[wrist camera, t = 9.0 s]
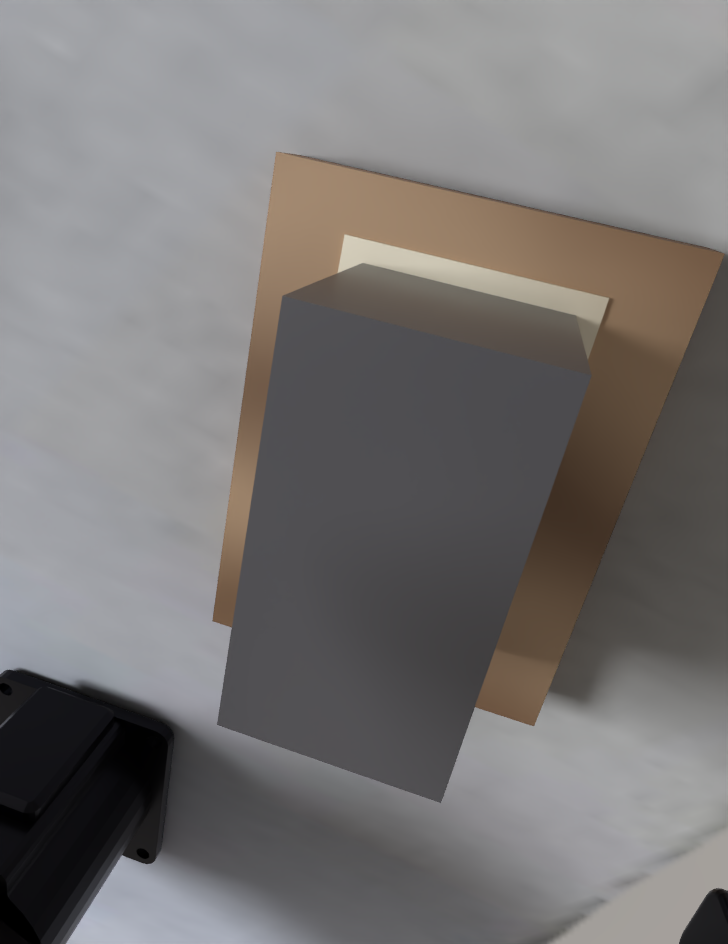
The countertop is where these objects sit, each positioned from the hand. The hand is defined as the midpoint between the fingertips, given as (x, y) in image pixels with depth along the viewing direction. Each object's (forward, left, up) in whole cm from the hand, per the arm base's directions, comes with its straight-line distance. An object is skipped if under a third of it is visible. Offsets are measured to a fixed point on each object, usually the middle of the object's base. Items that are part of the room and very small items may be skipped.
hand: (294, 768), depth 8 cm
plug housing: (0, 0, -9) cm, 9 cm away
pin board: (0, 0, -11) cm, 11 cm away
